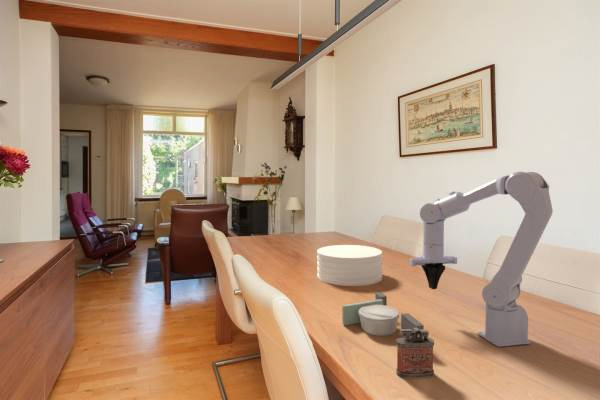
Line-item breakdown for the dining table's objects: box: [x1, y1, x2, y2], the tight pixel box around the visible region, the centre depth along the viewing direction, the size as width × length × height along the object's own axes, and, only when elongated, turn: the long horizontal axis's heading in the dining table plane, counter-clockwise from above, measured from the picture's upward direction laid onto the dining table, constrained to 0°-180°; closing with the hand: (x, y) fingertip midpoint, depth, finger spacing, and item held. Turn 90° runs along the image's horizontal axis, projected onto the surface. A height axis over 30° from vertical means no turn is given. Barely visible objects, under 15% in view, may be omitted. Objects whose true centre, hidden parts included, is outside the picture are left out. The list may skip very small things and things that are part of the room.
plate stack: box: [316, 244, 383, 287], centre depth 155 cm, size 28×28×12 cm
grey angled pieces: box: [374, 292, 425, 338], centre depth 100 cm, size 2×26×6 cm, turn 10°
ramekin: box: [359, 304, 400, 337], centre depth 100 cm, size 11×11×5 cm
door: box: [341, 299, 383, 326], centre depth 106 cm, size 2×13×6 cm, turn 112°
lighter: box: [395, 327, 435, 379], centre depth 77 cm, size 8×3×10 cm, turn 92°
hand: (432, 288), depth 107 cm, fingers closed
